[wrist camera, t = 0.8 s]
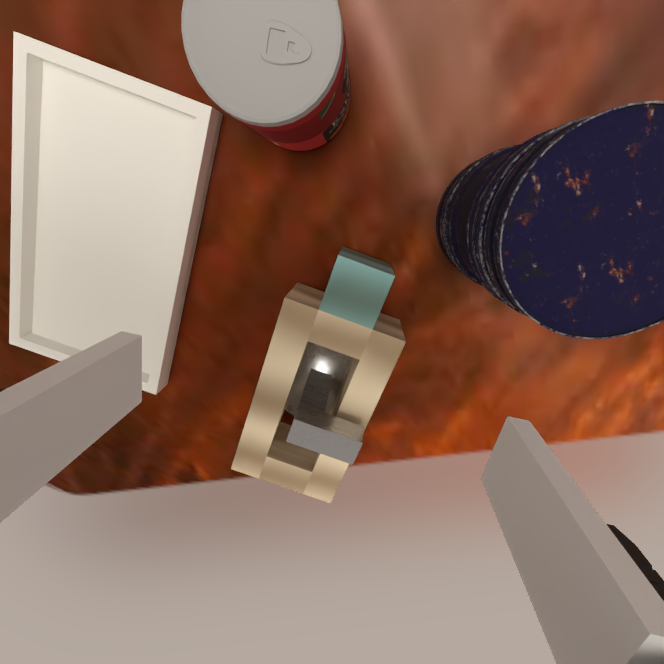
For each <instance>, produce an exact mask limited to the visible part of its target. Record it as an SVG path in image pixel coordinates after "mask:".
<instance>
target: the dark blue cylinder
mask: <svg viewBox="0 0 664 664" xmlns="http://www.w3.org/2000/svg"><path fill="white" fill-rule="evenodd" d="M436 231H437V237H438V241H439V244H440V246H441V248H442V250H443V252H444V254H445V255H446V257H447V258H448V259H449V260H450V261H451V262H452V263H453V264H454V265H455V266H456V267H457V268H458V269H459V270H460V271H461V272H462V273H463V274H465V275H466V276H467V277H468V278H470V279H471V280H473V281H474V282H476V283H478V284H480V285H483V286H484V287H485V288H486V289H487V290H488V291H489V292H490V293H491V294H493V295H494V296H495V297H496V298H498V299H499V300H501V301H502V302H504V303H505V304H507V305H508V306H510V307H511V308H513V309H514V310H516V311H517V312H519V313H521V314H523V315H526V316H528V317H529V318H531V319H532V320H534V321H535V322H537V323H538V324H540V325H541V326H543V327H545V328H547V329H549V330H551V331H554V332H556V333H559V334H562V335H566V336H570V337H575V338H585V339H606V338H613V337H619V336H625V335H628V334H631V333H635V332H638V331H642V330H644V329H647V328H649V327H651V326H654V325H656V324H658V323H660V322H662V321H664V101H647V102H637V103H631V104H627V105H623V106H619V107H615V108H611V109H609V110H606V111H603V112H601V113H598V114H596V115H594V116H590V117H586V118H582V119H578V120H574V121H571V122H569V123H566V124H564V125H561V126H559V127H557V128H554V129H551V130H548V131H546V132H543V133H541V134H539V135H536V136H534V137H532V138H531V139H529V140H528V141H526V142H524V143H523V144H520V145H514V146H510V147H507V148H503V149H500V150H498V151H495V152H493V153H491V154H488V155H486V156H485V157H483V158H481V159H480V160H477V161H475V162H474V163H472V164H470V165H469V166H467V167H466V168H465V169H463V170H462V171H461V172H460V173H459V174H458V175H457V176H456V177H455V178H454V179H453V180H452V181H451V183H450V184H449V186H448V187H447V189H446V190H445V192H444V194H443V196H442V198H441V201H440V204H439V207H438V211H437V217H436Z"/></svg>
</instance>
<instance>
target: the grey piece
mask: <svg viewBox="0 0 664 664" xmlns="http://www.w3.org/2000/svg"><path fill="white" fill-rule="evenodd" d="M351 358H352V357H350V356H347V355H345V354H342V353H339V352H336V351H334V350H331V349H328V348H325V347H322V346H320V345H317V344H314V343H311V342H308V345H307V348H306V351H305V353H304V356H303V359H302V362H301V365H300V368H299V370H298V373H297V376H296V379H295V382H294V384H293V387H292V390H291V393H290V396H289V398H288V401H287V404H286V407H285V410H286V411H287V412H289V413H290V414H291V415H293V416H294V419H293V422H292V425H291V428H290V431H289V434H288V437H287V440H286V442H289V443H292V444H294V445H297V446H300V447H303V448H306V449H309V450H312V451H314V452H317V453H320V454H323V455H326V456H329V457H332V458H334V459H337V460H340V461H343V462H346V463H349V464H352V465H353V463H354V461H355V459H356V457H357V454H358V452H359V450H360V448H361V446H362V444H363V426H361V425H358V424H356V423H353V422H350V421H347V420H344V419H341V418H339V417H336V416H333V415H330V414H328V413H329V411H330V409H331V406H332V404H333V401H334V399H335V397H336V394H337V392H338V389H339V387H340V384H341V382H342V380H343V377H344V375H345V372H346V370H347V367H348V365H349V363H350V360H351Z"/></svg>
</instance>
